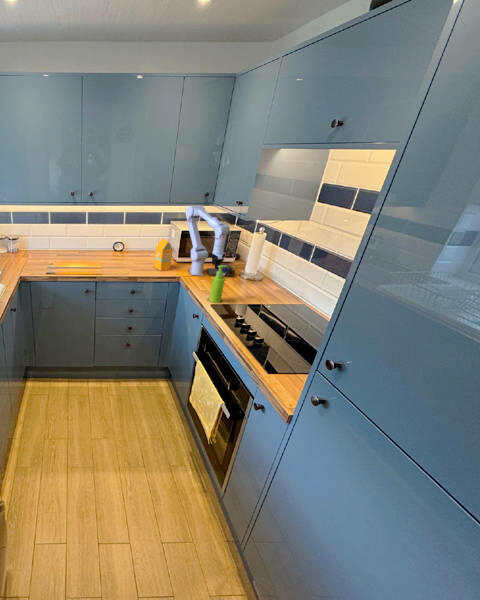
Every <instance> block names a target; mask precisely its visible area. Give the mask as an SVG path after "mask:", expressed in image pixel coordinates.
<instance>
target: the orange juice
mask: <svg viewBox="0 0 480 600" xmlns="http://www.w3.org/2000/svg"><path fill="white" fill-rule="evenodd" d="M173 250H174V249H173V247H172V245H171V244H170V242H169V240H167V239H164V238H161V239H160V240H159V242H158V243H157V244H156V246H155V255H154V263H153V267H154V268H155V269H157V270H158V271H160V272H162V271H170V270H171V265H172V259H173Z"/></svg>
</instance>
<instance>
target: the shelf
mask: <svg viewBox="0 0 480 600" xmlns="http://www.w3.org/2000/svg"><path fill="white" fill-rule="evenodd" d="M228 265H229V267H228V271H227V272H226V274H225V275H223V278H234V277H235V273H236V270H235V269H234V267H233V266H232V265H231V264H228ZM205 269H206V270H205V271H206V273H207V274H208V276H209V277H215V276H216V274H217V271H218V270H219V269H215V267H213V268H212V267H206V268H205Z"/></svg>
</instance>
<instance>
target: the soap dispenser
mask: <svg viewBox="0 0 480 600" xmlns="http://www.w3.org/2000/svg"><path fill="white" fill-rule="evenodd" d="M218 267H219V271H217V274H216V276H212V282H211V287H210V291H209V299H208V300H209V301H210V302H212V303H214V304H217V303H220V302H221V301H222V296H223V292H224V287H225V286H224V285H225V282H226V277H223V274H224V272H223V271H222V270H223V268H224V267H229V266H226V265H220V266H218Z"/></svg>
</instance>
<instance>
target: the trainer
mask: <svg viewBox="0 0 480 600" xmlns="http://www.w3.org/2000/svg"><path fill="white" fill-rule="evenodd" d="M221 265H226V266H229V265H230V264H227V263H221ZM218 271H219V270H218ZM222 271H223V272H224V274H223V275H225V274H226V272H227V271H228V267H224V268H223V270H222Z"/></svg>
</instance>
